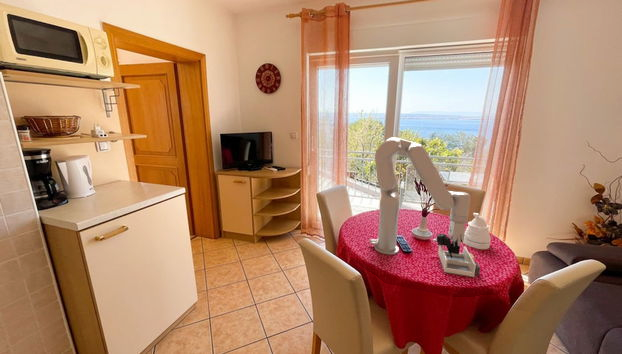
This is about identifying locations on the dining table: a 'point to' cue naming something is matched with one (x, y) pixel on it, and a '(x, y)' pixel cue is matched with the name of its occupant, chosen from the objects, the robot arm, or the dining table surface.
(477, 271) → the grey flat block
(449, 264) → the two-cubby white shelf
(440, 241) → the power plug
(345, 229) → the dining table surface
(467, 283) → the dining table surface
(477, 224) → the honey pot
